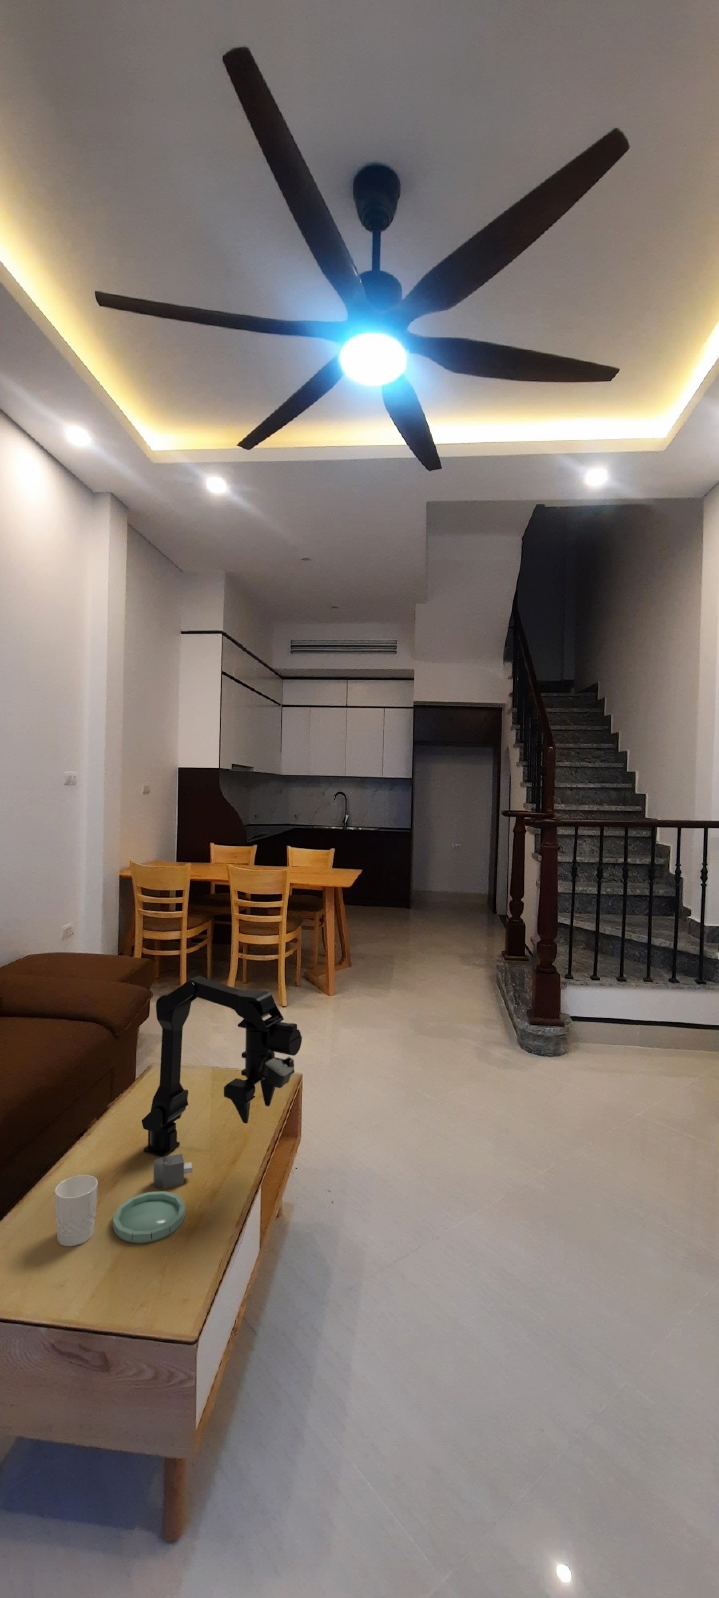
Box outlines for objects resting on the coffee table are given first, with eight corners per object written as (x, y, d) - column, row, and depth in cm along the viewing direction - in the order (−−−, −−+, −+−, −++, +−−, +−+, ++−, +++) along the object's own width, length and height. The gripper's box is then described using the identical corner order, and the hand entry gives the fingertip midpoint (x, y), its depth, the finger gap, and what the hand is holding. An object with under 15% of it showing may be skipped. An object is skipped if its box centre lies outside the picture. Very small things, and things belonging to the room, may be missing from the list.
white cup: (105, 1228, 133) (106, 1179, 133) (77, 1253, 126) (77, 1201, 126) (74, 1219, 136) (75, 1171, 136) (45, 1243, 128) (45, 1193, 128)
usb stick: (153, 1190, 146) (154, 1168, 146) (152, 1180, 150) (153, 1158, 150) (192, 1182, 149) (192, 1161, 149) (190, 1173, 153) (191, 1152, 153)
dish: (98, 1230, 132) (98, 1222, 132) (147, 1193, 145) (147, 1185, 145) (152, 1251, 126) (152, 1242, 126) (198, 1210, 139) (198, 1202, 139)
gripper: (264, 1068, 140) (263, 1141, 140) (307, 1040, 157) (306, 1104, 157) (222, 1059, 145) (221, 1129, 145) (268, 1032, 162) (267, 1095, 162)
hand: (256, 1114), depth 152 cm, fingers open, 9 cm apart
